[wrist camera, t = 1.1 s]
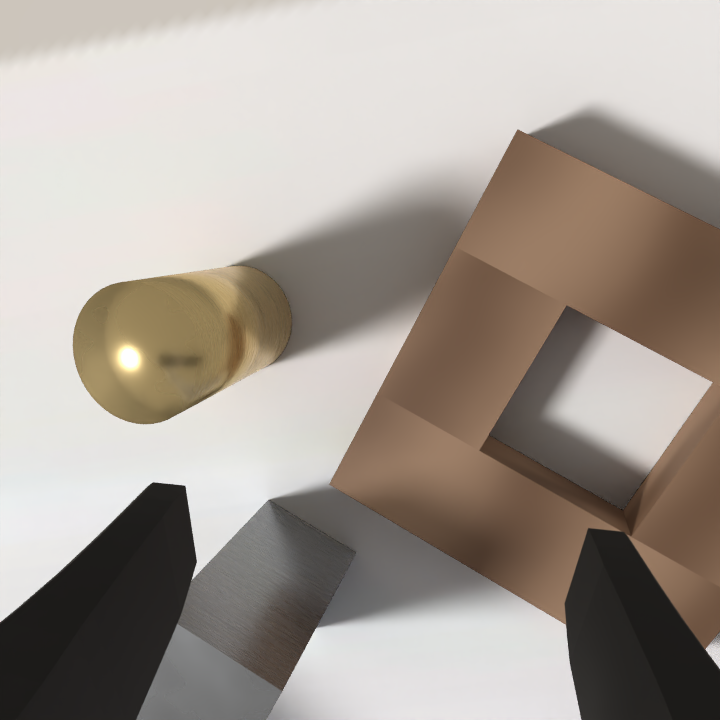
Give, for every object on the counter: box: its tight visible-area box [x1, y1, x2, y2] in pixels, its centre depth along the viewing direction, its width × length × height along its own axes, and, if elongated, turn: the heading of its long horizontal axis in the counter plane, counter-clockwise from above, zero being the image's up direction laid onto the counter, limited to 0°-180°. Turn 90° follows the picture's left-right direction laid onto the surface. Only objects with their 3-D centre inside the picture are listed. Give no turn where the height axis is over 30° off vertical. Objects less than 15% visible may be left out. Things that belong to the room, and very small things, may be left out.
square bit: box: [136, 500, 356, 720], centre depth 23 cm, size 4×4×8 cm
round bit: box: [73, 266, 292, 424], centre depth 22 cm, size 4×4×7 cm
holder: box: [329, 130, 720, 649], centre depth 21 cm, size 13×13×2 cm
